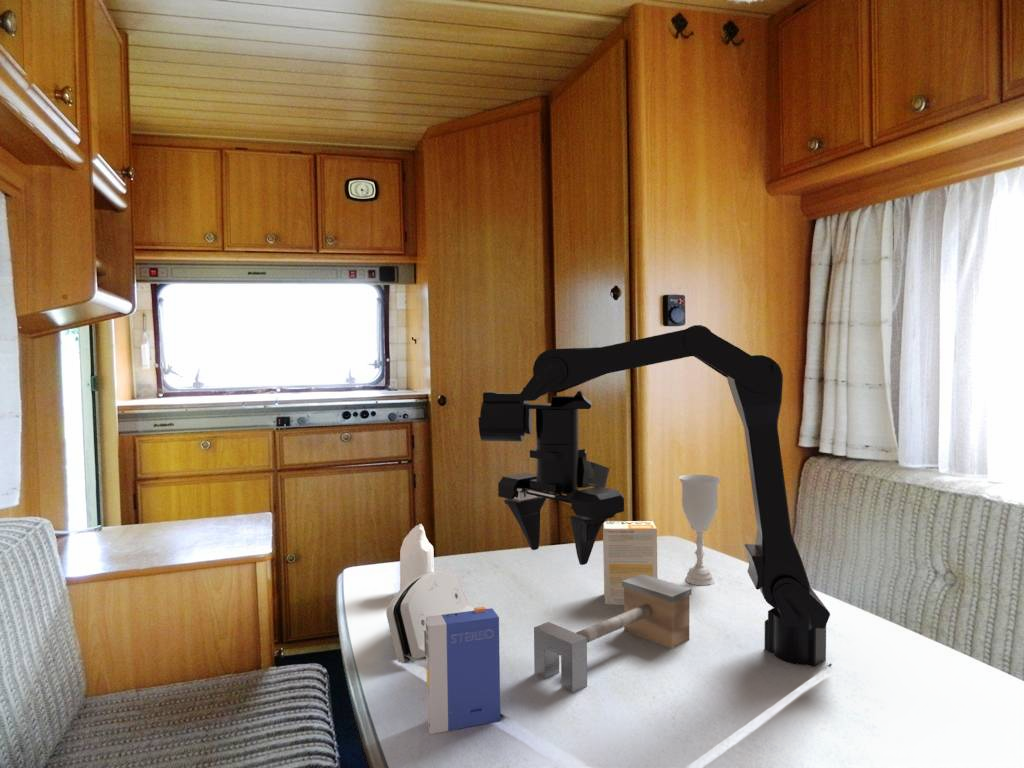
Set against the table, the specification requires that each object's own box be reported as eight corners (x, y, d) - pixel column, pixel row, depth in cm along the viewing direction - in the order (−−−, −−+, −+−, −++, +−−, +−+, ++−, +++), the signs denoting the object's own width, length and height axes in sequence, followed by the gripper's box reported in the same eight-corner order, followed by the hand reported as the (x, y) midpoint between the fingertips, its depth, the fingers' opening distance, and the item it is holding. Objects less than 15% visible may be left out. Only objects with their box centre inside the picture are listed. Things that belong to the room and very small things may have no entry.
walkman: (493, 709, 77) (492, 604, 76) (500, 721, 74) (499, 613, 74) (424, 721, 75) (422, 613, 74) (429, 734, 72) (427, 623, 71)
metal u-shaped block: (587, 694, 80) (586, 637, 80) (572, 701, 78) (572, 643, 78) (549, 675, 85) (548, 621, 84) (534, 681, 83) (533, 627, 83)
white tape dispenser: (431, 668, 87) (406, 593, 88) (400, 675, 89) (376, 601, 89) (482, 619, 103) (460, 555, 103) (455, 626, 104) (434, 563, 105)
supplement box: (654, 600, 110) (654, 520, 109) (658, 612, 105) (658, 528, 104) (603, 599, 110) (602, 519, 110) (604, 610, 106) (603, 527, 105)
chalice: (670, 577, 121) (670, 476, 120) (700, 571, 124) (701, 473, 123) (698, 590, 114) (698, 483, 113) (729, 583, 117) (729, 480, 116)
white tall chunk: (391, 524, 113) (418, 518, 117) (393, 595, 113) (419, 586, 117) (414, 530, 109) (441, 523, 113) (415, 604, 109) (442, 595, 113)
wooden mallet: (641, 628, 99) (641, 573, 98) (691, 646, 92) (691, 588, 92) (555, 666, 87) (555, 605, 87) (605, 690, 81) (605, 624, 80)
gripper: (650, 442, 90) (650, 559, 91) (550, 431, 104) (551, 532, 105) (594, 451, 82) (595, 578, 83) (495, 438, 96) (496, 546, 97)
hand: (558, 556), depth 92 cm, fingers open, 9 cm apart
